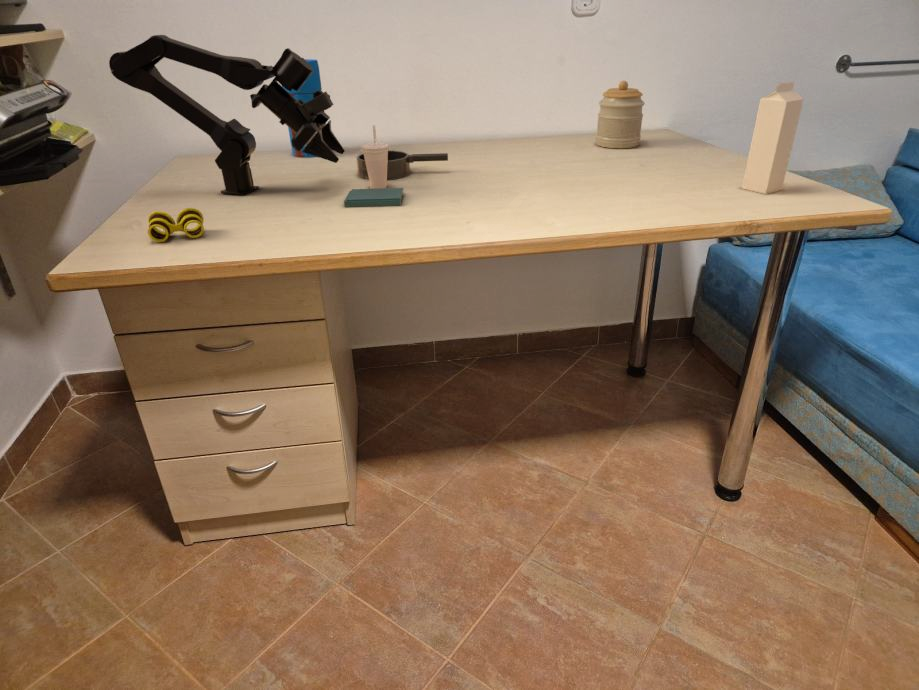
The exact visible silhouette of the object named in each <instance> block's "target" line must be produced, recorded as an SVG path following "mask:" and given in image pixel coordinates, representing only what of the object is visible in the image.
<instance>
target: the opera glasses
mask: <svg viewBox="0 0 919 690" xmlns="http://www.w3.org/2000/svg"><path fill="white" fill-rule="evenodd" d="M147 222H148V229H147V235H148V237H149V238H150V239H151V240H152V241H154V242H156V243H157V242H158V243H164V242H166V241H167V240H168V238H169V237H170V236H171V235H172V234H174V233H176V232H181V233H182V232H183V233H185V235H186V236H187V237H189V238H192V239H195V238H196V239H197V238H199V237H201V236H202V235H203V234H204V232H205V227H204V216H203V213H202V212H201V211H200V210H199V209H198V208H195V207H186V208H183V209H182V210H181V211H179V213H178V214H177V217H176V221H175V219H174V218H173V217H172V215H170V214H169V213H167V212H165V211H159V210H156V211H153V212H151V213H150V214H149V216H148V219H147ZM190 224H197V225H196V226H195V227H193V228H187V227H188V226H189V225H190ZM158 228H159V229H158ZM160 229H162V230H163V231H162V230H160Z"/></svg>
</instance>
